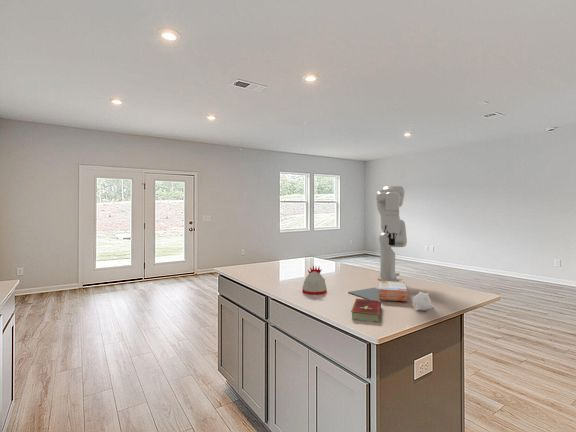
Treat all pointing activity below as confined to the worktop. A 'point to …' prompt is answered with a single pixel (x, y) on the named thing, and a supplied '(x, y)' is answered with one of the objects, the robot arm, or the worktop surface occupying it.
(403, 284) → the cracker box
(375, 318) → the hardcover book
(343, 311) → the worktop surface
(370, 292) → the mat
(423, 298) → the crumpled paper ball
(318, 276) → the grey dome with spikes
